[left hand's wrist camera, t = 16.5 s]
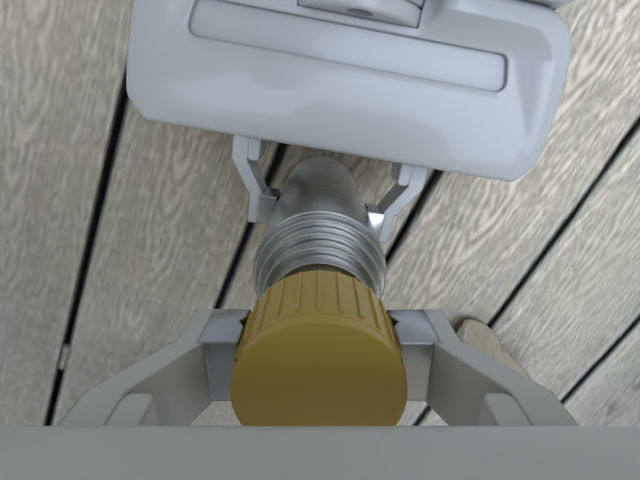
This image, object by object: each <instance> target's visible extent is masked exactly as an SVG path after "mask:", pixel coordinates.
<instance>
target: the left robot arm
mask: <svg viewBox="0 0 640 480" xmlns="http://www.w3.org/2000/svg"><path fill="white" fill-rule="evenodd" d="M250 312H251V311H250V310H234V309H216V310H215V309H198V310H196V311H195V312H194V314H193V315H192V317H191V319H190V320H189V322H188V324H187V325H186V327H185V329H184V330H183V332H182V334H181V335H180V337H179V339H178V340H177V342H176V343H170V344H168V345H166V346H164V347H163V348H161V349H159V350H157V351H155V352H154V353H152V354H150V355H148V356H147V357H145V358H143V359H141V360H140V361H138V362H136V363H134V364H133V365H131V366H129V367H127V368H125V369H124V370H122V371H120V372H118V373H117V374H115V375H113V376H111V377H110V378H108V379H106V380H104V381H103V382H101V383H99V384H97V385H96V386H94V387H92V388H90V389H88V390H87V391H85V392H84V393H83V394H82V395H81V397H80V398H79V399H78V400H77V402H76V403H75V404H74V405H73V407H72V408H71V409H70V410H69V411H68V413H67V414H66V415H65V416H64V418H63V419H62V420H61V421H60V423H59V424H58V425H57V426H0V480H640V426H579V425H578V424H577V422H576V421H575V420H574V419H573V417H572V416H571V415H570V413H569V412H568V411H567V410H566V408H565V407H564V406H563V405H562V403H561V402H560V401H559V400H558V398H557V397H556V396H555V395H554V393H553V392H551V391H550V390H548V389H546V388H544V387H543V386H541V385H539V384H537V383H536V382H534V381H532V380H530V379H529V378H527V377H525V376H523V375H522V374H520V373H518V372H516V371H515V370H513V369H511V368H509V367H508V366H506V365H504V364H502V363H501V362H499V361H497V360H496V359H494V358H492V357H490V356H489V355H487V354H485V353H483V352H482V351H480V350H478V349H476V348H475V347H473V346H471V345H469V344H468V343H461V342H460V340H459V338H458V337H457V335H456V333H455V332H454V330H453V328H452V326H451V325H450V323H449V321H448V320H447V318H446V316H445V315H444V313H443V311H442V310H441V309H420V310H387V312H386V313H389V316H390V320H391V321H392V324H393V327H394V332H395V335H396V338H397V341H398V344H399V346H400V349H401V352H402V355H403V359H401V361H402V363H403V364H404V367H405V370H406V379H407V385H408V395H407V401H427V402H426V403H427V404H428V405H429V406H430V407H431V408H432V409H433V410H434V411H435V412H436V413H437V414H438V415H439V416H440V417H441V418H442V419H443V420H444V421H445V422H446V423H447V424H448V425H449V426H188V425H189V424H190V423H191V422H192V421H193V420H194V419H195V418H196V417H197V416H198V415H199V414H200V413H201V412H202V411H203V410H204V409H205V408H206V407H207V406H208V405H209V404H211V401H231V396H230V382H231V378H232V370H233V367H234V363H235V362H236V361H237V359H236V358H235V355H236V352H237V349H238V346H239V343H240V340H241V337H242V334H243V331H244V328H245V325H246V322H247V319H248V316H249V313H250Z"/></svg>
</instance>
